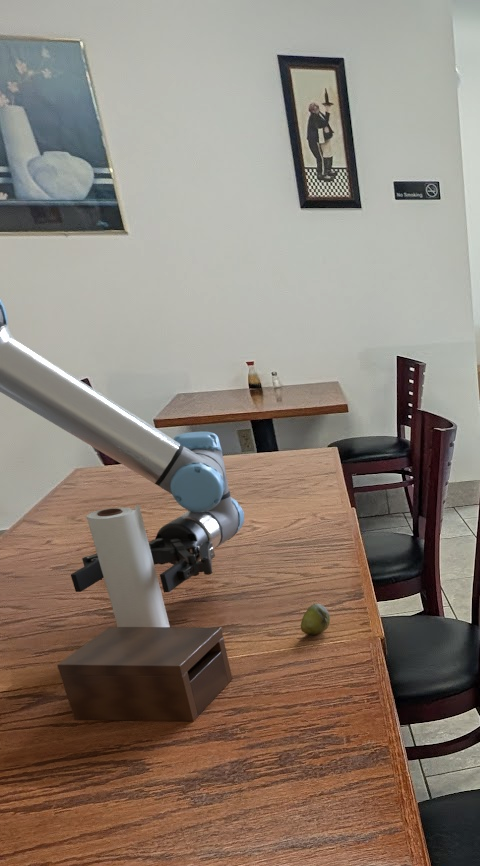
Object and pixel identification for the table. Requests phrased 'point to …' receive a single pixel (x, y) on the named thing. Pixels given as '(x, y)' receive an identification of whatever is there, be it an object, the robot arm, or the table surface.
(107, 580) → the paper towel roll
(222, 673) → the drawer box
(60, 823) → the table surface
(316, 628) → the lime
